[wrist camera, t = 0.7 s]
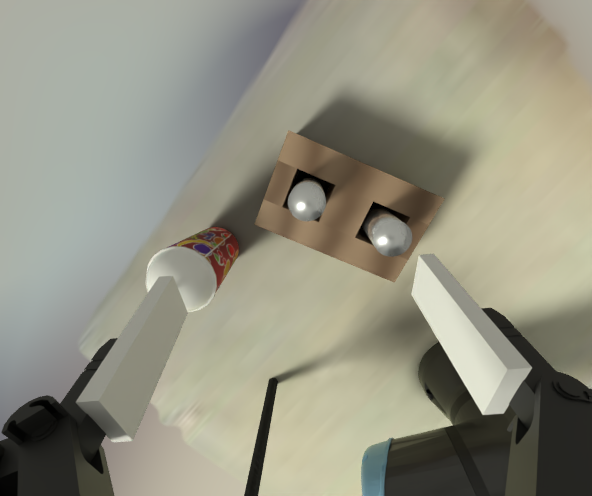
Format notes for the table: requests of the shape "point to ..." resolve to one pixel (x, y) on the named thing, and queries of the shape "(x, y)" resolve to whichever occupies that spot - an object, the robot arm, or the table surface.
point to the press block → (344, 206)
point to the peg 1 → (307, 200)
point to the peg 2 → (387, 232)
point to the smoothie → (196, 265)
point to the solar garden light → (261, 441)
